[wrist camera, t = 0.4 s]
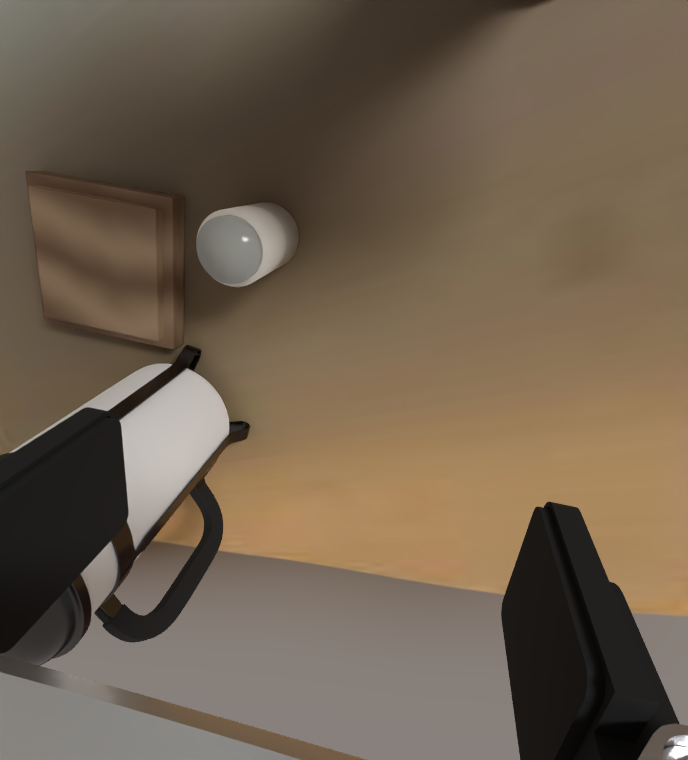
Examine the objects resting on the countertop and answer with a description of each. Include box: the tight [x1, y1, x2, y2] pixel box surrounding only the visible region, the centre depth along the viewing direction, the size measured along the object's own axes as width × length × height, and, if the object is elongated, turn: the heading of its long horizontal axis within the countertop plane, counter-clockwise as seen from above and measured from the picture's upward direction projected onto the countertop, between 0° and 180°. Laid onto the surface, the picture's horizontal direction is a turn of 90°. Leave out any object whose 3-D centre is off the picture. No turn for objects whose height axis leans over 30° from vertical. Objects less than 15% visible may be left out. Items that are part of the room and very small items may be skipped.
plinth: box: [26, 171, 184, 350], centre depth 45 cm, size 14×14×3 cm
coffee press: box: [0, 345, 250, 666], centre depth 38 cm, size 17×16×30 cm
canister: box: [196, 202, 299, 287], centre depth 38 cm, size 6×6×9 cm
